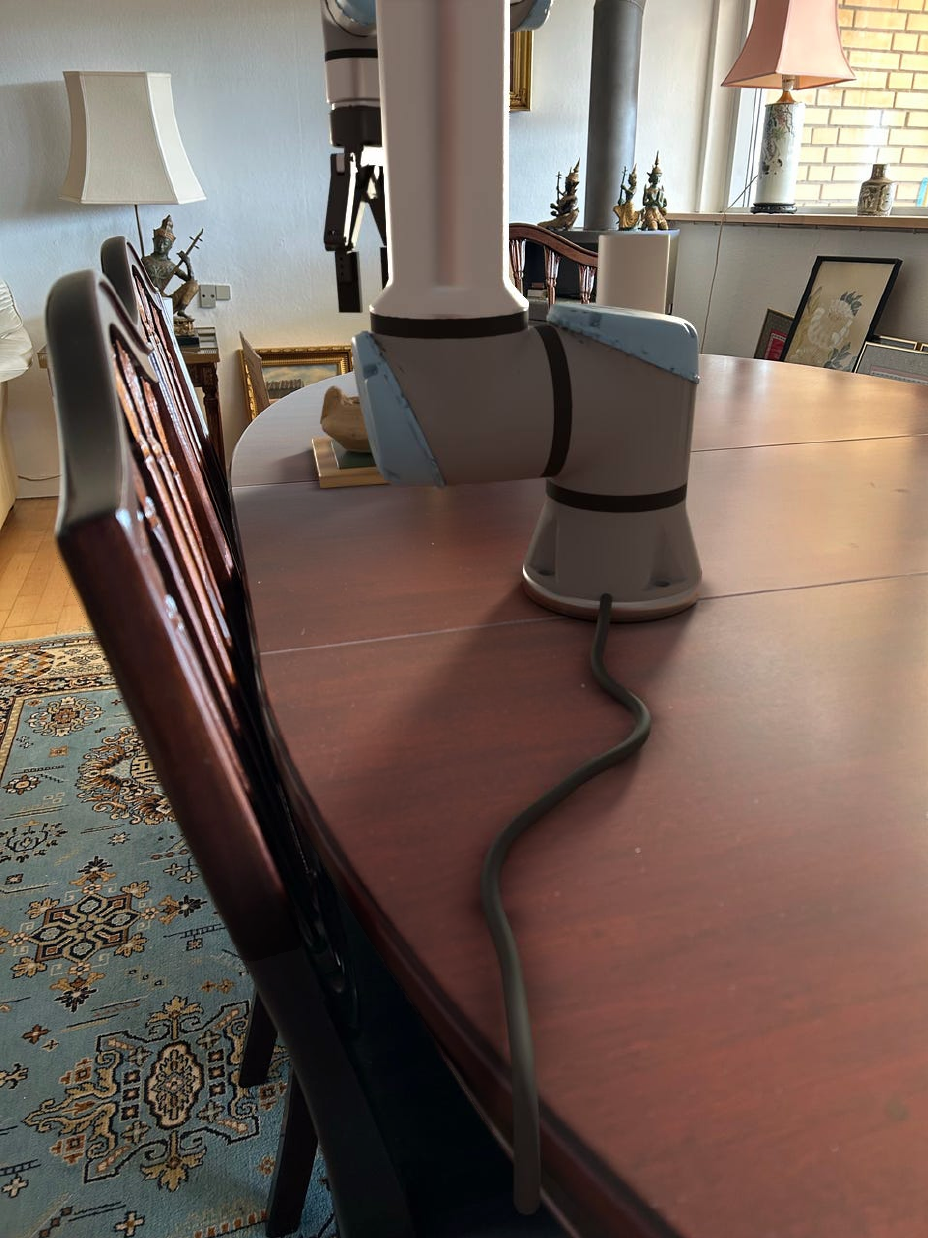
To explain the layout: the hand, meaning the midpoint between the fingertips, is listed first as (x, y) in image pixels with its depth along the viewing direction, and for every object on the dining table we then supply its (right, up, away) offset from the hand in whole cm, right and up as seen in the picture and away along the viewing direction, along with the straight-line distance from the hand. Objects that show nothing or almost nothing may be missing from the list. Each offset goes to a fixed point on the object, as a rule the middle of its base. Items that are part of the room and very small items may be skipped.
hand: (373, 307), depth 109 cm
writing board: (0, -18, +8) cm, 19 cm away
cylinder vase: (+42, +8, +61) cm, 74 cm away
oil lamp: (0, -16, +8) cm, 18 cm away
